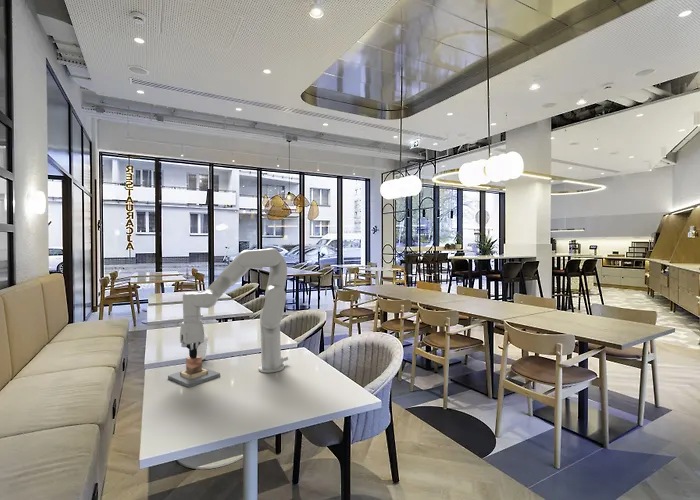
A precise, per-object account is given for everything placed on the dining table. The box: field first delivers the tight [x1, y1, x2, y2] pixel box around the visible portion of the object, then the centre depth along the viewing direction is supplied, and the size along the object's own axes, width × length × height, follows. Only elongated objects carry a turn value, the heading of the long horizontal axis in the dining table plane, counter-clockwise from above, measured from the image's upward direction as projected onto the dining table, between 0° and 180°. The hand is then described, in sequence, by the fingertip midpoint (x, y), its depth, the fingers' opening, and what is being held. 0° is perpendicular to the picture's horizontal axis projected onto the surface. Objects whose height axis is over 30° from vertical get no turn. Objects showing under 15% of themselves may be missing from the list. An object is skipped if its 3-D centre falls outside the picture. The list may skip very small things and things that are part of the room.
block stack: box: [185, 356, 203, 375], centre depth 179 cm, size 5×5×8 cm
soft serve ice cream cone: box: [197, 332, 209, 361], centre depth 206 cm, size 8×8×16 cm
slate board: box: [167, 366, 221, 388], centre depth 179 cm, size 16×18×3 cm
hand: (193, 357), depth 179 cm, fingers closed
